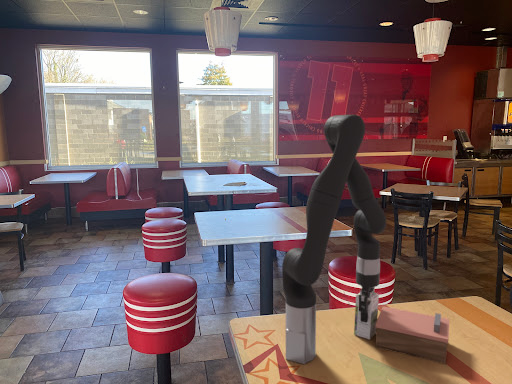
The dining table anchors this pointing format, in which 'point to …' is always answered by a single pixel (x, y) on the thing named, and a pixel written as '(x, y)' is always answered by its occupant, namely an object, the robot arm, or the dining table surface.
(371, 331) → the syrup box
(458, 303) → the dining table surface
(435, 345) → the toolbox
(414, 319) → the toolbox lid
